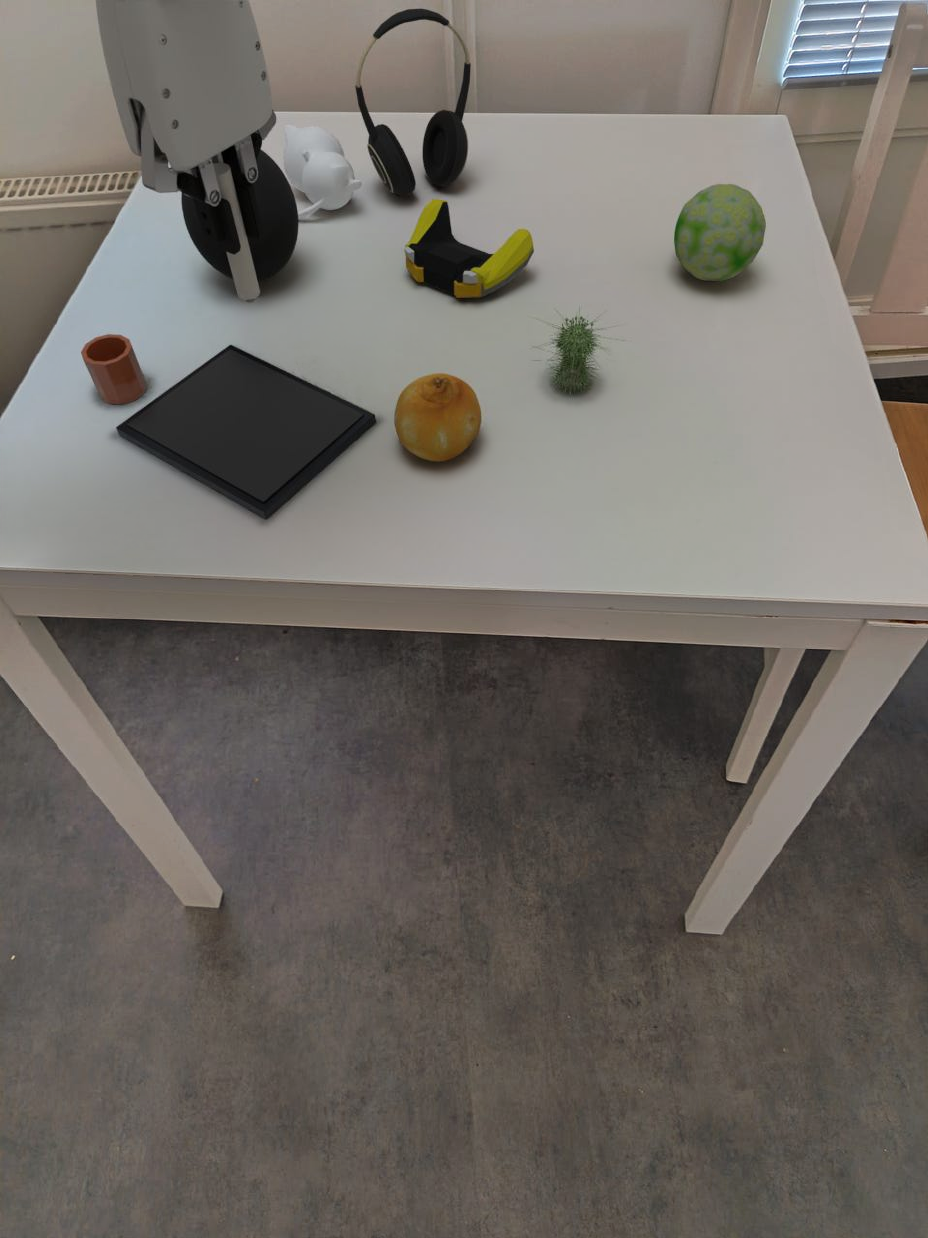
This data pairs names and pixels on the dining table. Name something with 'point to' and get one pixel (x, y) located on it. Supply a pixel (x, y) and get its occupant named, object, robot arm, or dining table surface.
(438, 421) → the fruit
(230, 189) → the stylus
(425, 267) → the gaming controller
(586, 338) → the small spiny cactus
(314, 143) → the cat figurine
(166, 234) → the dining table surface
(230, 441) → the tablet
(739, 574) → the dining table surface
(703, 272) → the decorative ball
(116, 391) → the pen cup
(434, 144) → the headphones
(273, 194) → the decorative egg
